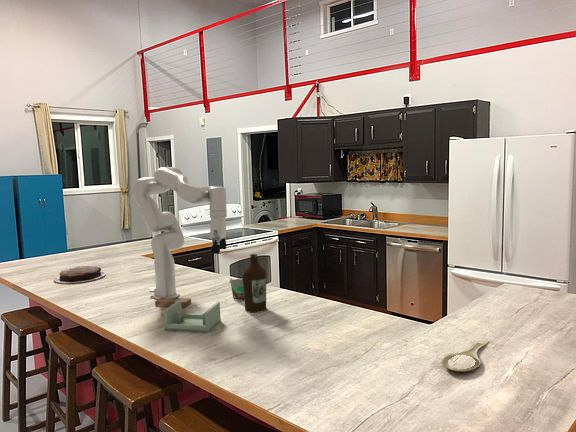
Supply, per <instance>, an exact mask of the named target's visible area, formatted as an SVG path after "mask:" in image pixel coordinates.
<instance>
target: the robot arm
mask: <svg viewBox="0 0 576 432" xmlns="http://www.w3.org/2000/svg"><path fill="white" fill-rule="evenodd" d="M153 173H154V174H153V176H151V177H141V178H138V179H136V180H135V181H134V183H133V185H132V187H131V188H132V190H131V191H132V192H131V193H132V197H133V199H134V201H135V203H136V204H137V205H136V206H138V208H139V211H140V213H141V216H142V218H143V221H144V223H145V225H146V228H147V230H148V231H149V232H150V233H159V234H156V235H154V236H153V237H152V239H151V241H150V247H151V250H152V254H153V261H154V264H153V265H154V277H155V287H149V288H148V289H149V293H153V295H152V296H153V298H154V299H156V300H158V299H160V298H161V297H166V298H179V296H180V291H177V286H176V270H175V269H176V268H175V267H176V266H175V259H174V256H173V254H172V253H171V252H172V251H177V250H180V249H181V248H183V246H184V245H185V236H184V233H183V230H182V228H181V227H180V224H179V221H178V218H177V217H176V215H175V214H174V213H173V212H171V211H160V209H159V206H158V204H157V202H156V201H155V199H153V197H151V196H150V195H158V194H164V193H167V192H168V191H169V190H171V191H173V192H175V193H176V194H177V196H178V197H179V198H180V199H182V200H184V201H187V202H189V203H192V204H203V203H209V218H210V227H209V228H210V229H209V230H210V233H209V236H210V240H211V241H212V243H211V244H212V254H217V255H218V254H221V250H227V221H226V218H227V217H228V215H227V213H228V211H227V189H226V188H225V187H224V186H213V185H200V186H193V185H190V184H189V180H188V177H187V176H185V175H184V174H183V172H182V170H181V169H180V168H178V167H175V166H170V167H168V166H167V167H159V168H158V169H156V170H155V172H153ZM160 232H162V233H160Z"/></svg>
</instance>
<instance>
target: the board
mask: <svg viewBox="0 0 576 432" xmlns="http://www.w3.org/2000/svg"><path fill="white" fill-rule="evenodd" d="M177 301H181V308H186V309H187V308H188V307H190V306H191V305H192V298H190V297H175V298H166V297H161V298H160V299H156V300H155V302H154V303H155V304H154V306H155V308H162V307H163V308H169V307H170V306H171V305H173V304H174V303H176V302H177Z"/></svg>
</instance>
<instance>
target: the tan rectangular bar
mask: <svg viewBox="0 0 576 432" xmlns="http://www.w3.org/2000/svg"><path fill="white" fill-rule="evenodd" d="M166 309H167V308H163V307H161V315H162V316H164V310H166ZM182 310H183V313H187V308H182Z"/></svg>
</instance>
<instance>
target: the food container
mask: <svg viewBox="0 0 576 432" xmlns="http://www.w3.org/2000/svg"><path fill="white" fill-rule="evenodd" d="M229 284H230V286H231V293H232V299H233V298H234V299H233V300H235V299H236V301H245V300H244V288H243V277H241V278H236V279H234V278H230V279H229Z"/></svg>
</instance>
